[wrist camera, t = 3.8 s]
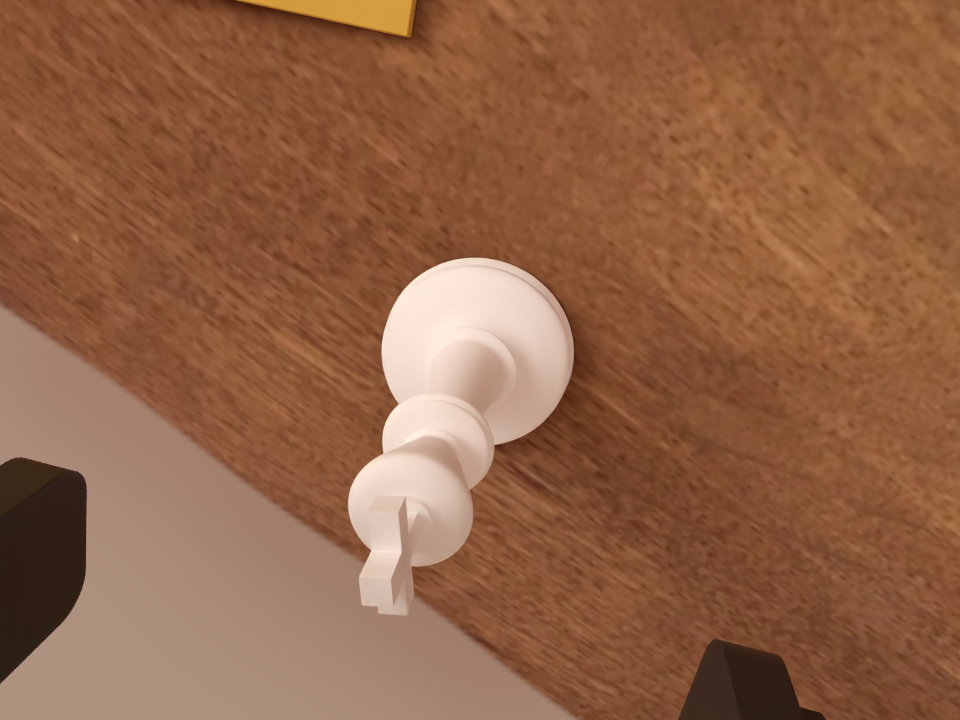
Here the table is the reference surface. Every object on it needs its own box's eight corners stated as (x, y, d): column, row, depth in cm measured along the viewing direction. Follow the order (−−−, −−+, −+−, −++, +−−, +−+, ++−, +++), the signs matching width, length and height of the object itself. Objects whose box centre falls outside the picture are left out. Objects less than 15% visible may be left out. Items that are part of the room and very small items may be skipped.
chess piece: (392, 436, 20) (228, 724, 11) (377, 258, 19) (168, 418, 9) (573, 439, 20) (565, 750, 10) (573, 255, 18) (562, 424, 9)
